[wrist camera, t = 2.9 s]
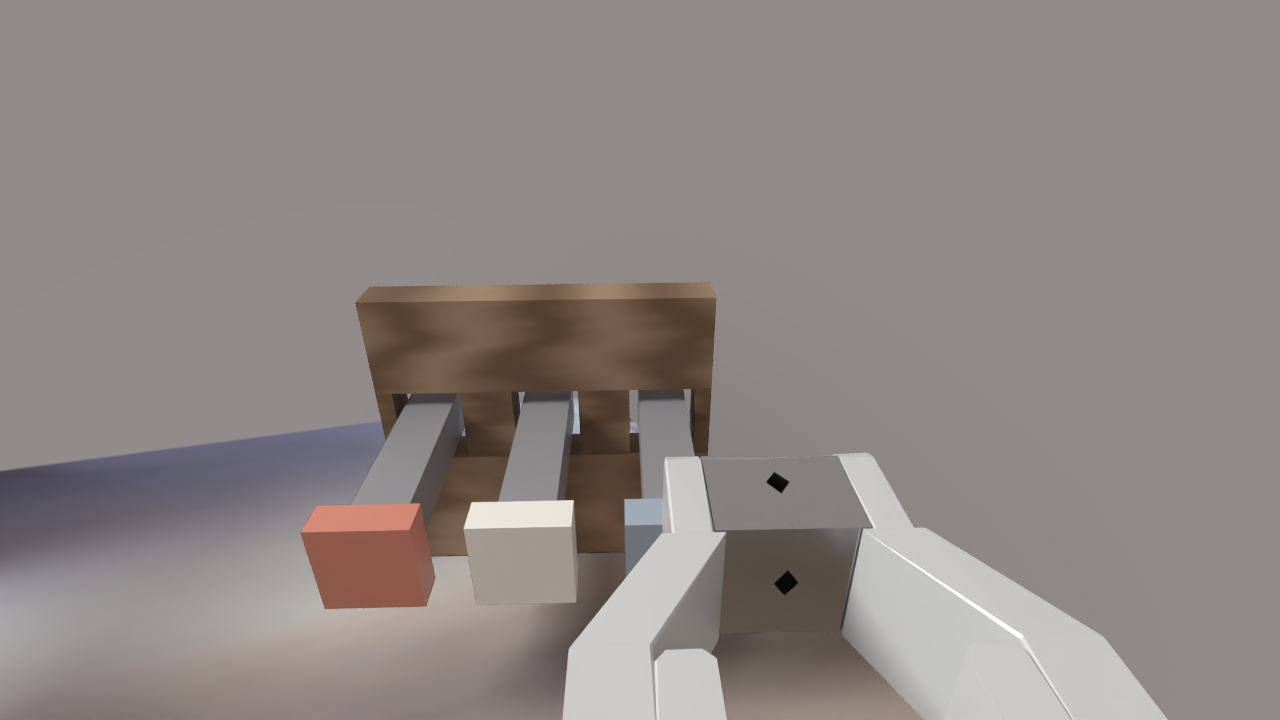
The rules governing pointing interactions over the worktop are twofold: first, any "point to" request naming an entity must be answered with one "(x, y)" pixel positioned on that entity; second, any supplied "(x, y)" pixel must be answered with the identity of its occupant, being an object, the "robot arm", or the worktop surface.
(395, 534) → the brick-red plunger
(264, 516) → the worktop surface
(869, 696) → the worktop surface
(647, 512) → the blue-capped grey rod
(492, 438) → the walnut panel
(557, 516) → the off-white plunger
